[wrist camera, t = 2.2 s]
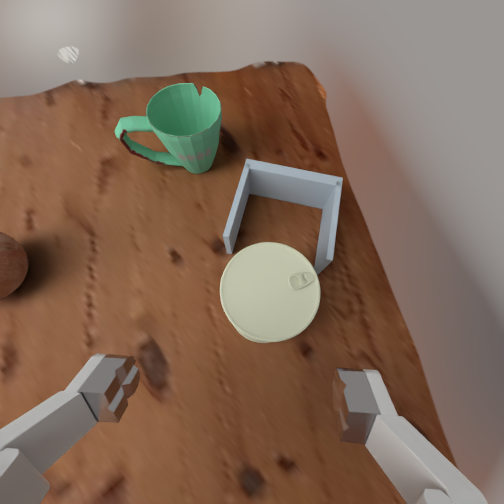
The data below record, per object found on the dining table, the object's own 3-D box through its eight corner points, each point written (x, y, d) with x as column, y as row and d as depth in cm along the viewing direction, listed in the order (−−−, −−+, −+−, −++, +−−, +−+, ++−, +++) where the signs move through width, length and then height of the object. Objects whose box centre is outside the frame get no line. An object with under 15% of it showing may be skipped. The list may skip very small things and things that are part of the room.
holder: (318, 274, 34) (332, 260, 28) (226, 253, 35) (222, 235, 29) (328, 202, 38) (342, 177, 33) (246, 185, 39) (246, 158, 34)
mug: (221, 135, 43) (213, 78, 34) (232, 179, 40) (228, 129, 30) (138, 150, 41) (105, 94, 32) (142, 197, 38) (108, 149, 29)
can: (307, 330, 31) (339, 324, 20) (238, 352, 30) (233, 357, 19) (284, 266, 34) (301, 228, 23) (221, 283, 33) (208, 253, 22)
